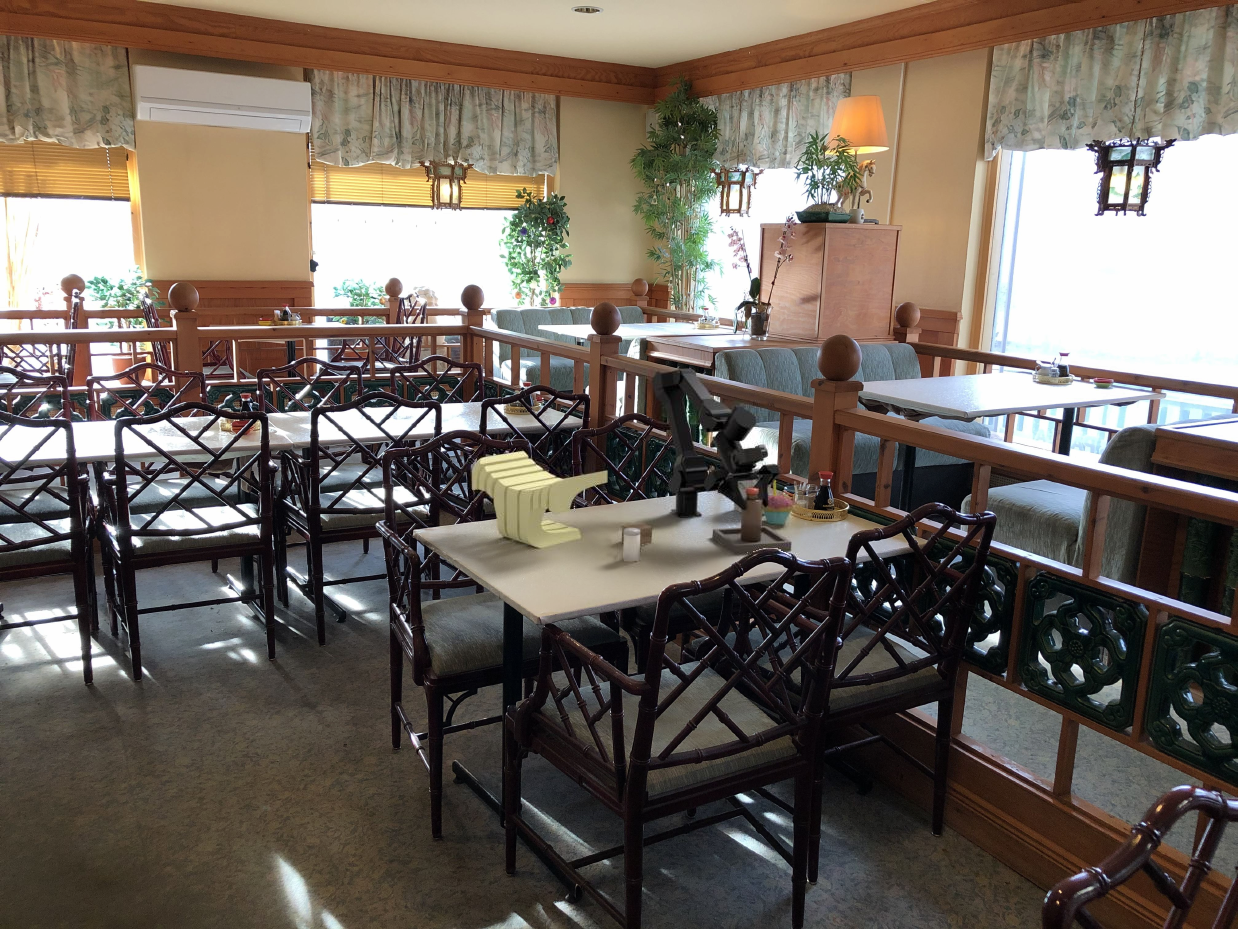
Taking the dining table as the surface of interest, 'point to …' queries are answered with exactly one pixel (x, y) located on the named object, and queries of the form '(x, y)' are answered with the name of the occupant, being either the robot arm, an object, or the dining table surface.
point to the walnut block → (644, 532)
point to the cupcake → (777, 507)
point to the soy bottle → (751, 516)
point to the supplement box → (749, 486)
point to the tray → (736, 545)
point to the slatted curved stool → (529, 497)
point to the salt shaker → (631, 544)
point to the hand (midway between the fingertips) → (756, 507)
